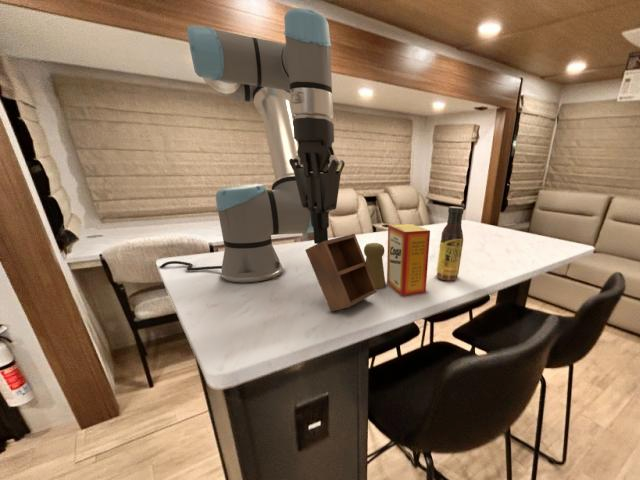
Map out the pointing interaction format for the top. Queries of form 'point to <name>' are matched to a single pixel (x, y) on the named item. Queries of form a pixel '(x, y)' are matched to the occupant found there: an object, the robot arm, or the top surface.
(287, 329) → the top surface
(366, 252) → the cork
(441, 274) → the sauce bottle
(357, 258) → the walnut shelf
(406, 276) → the baking soda box
